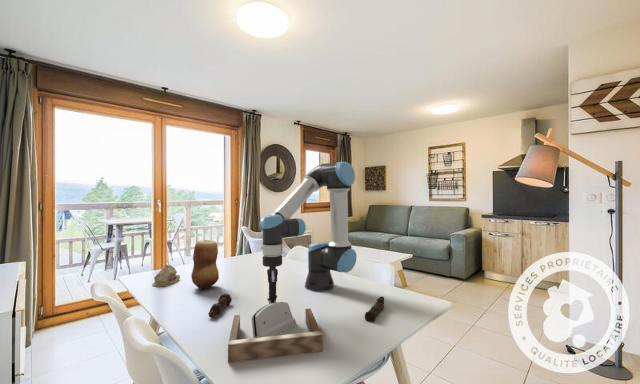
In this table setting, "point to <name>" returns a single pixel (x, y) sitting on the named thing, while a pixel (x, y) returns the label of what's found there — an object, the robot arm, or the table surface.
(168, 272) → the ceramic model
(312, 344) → the frame
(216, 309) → the bolt
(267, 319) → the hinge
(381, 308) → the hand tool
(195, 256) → the butternut squash
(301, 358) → the table surface
